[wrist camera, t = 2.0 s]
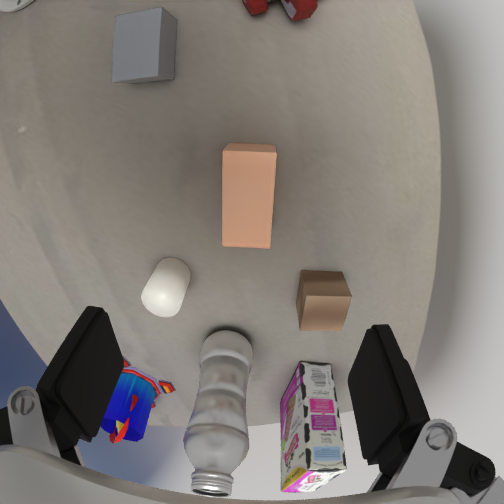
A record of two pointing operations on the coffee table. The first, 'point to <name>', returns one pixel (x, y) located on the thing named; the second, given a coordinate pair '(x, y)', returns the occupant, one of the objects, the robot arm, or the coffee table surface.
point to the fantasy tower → (132, 403)
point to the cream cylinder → (166, 287)
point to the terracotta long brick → (248, 194)
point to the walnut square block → (322, 301)
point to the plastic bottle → (219, 414)
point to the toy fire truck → (296, 4)
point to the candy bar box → (310, 430)
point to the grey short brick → (144, 46)
